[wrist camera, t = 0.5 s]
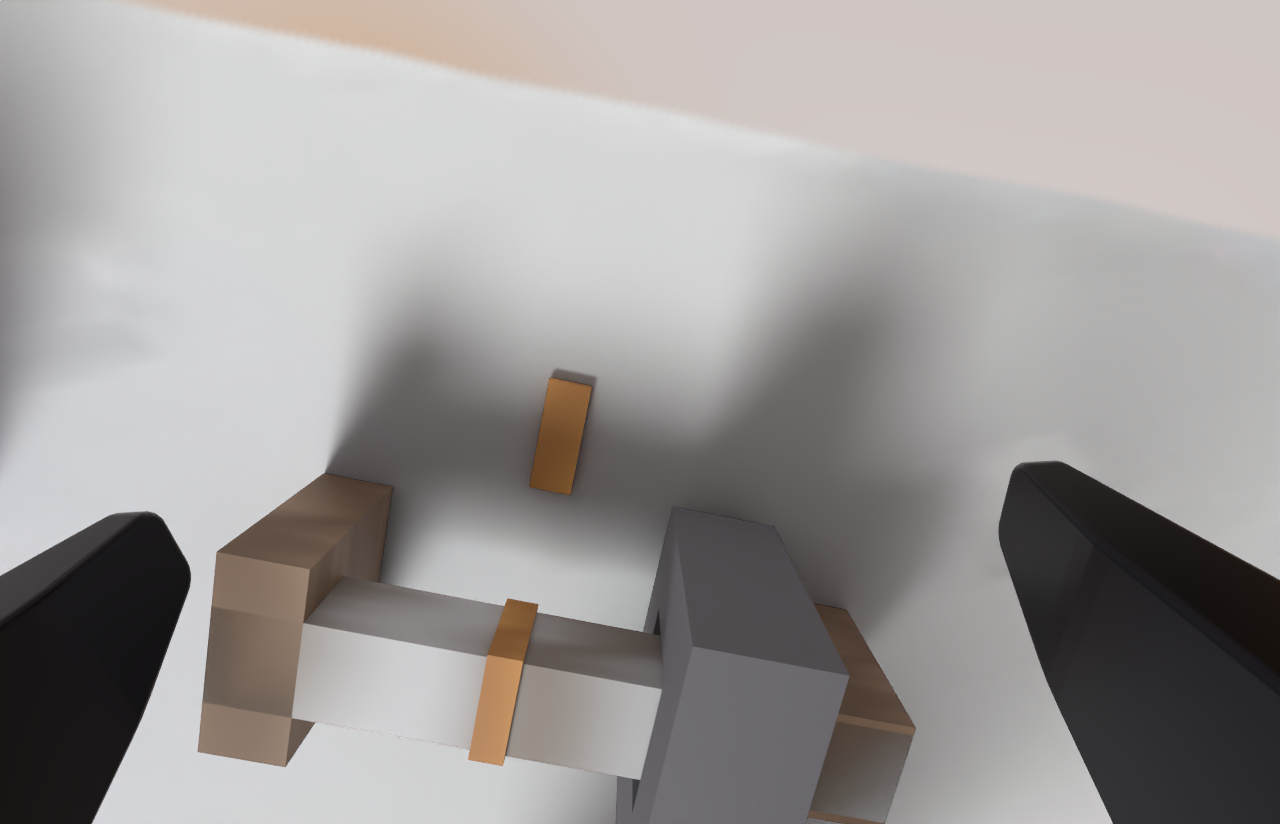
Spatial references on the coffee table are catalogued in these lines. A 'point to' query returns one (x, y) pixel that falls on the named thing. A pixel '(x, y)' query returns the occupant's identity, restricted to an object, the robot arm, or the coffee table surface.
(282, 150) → the coffee table surface
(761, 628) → the collar
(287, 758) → the pipe stand
